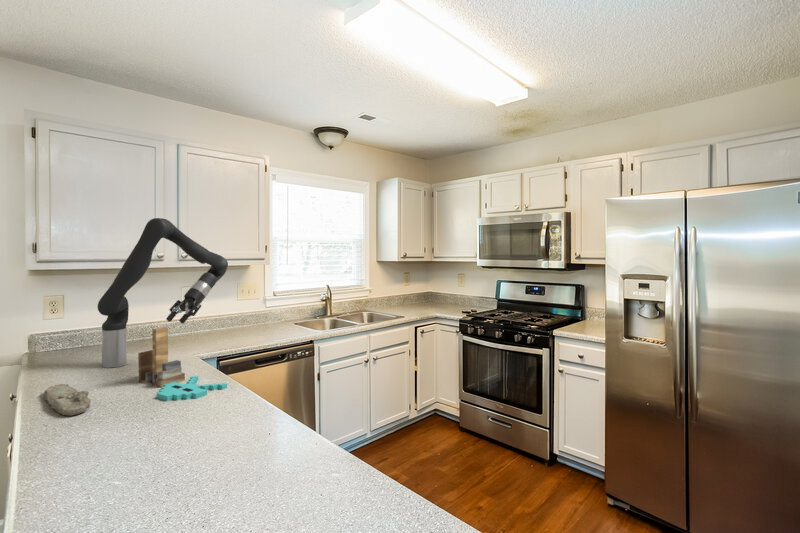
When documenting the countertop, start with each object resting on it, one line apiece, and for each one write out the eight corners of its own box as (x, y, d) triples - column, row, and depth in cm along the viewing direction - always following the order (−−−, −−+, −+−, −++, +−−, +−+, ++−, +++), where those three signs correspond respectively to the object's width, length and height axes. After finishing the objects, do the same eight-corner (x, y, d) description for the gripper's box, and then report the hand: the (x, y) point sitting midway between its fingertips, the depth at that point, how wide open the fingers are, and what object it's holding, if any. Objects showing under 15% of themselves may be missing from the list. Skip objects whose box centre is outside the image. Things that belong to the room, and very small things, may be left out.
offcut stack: (155, 385, 159) (155, 365, 158) (179, 378, 168) (179, 359, 168) (161, 387, 157) (161, 366, 157) (185, 380, 166) (185, 360, 166)
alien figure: (194, 380, 167) (146, 395, 149) (194, 375, 167) (146, 390, 149) (227, 388, 158) (179, 406, 140) (227, 383, 158) (178, 399, 140)
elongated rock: (72, 391, 156) (38, 400, 148) (70, 378, 156) (36, 386, 148) (98, 410, 134) (60, 421, 126) (96, 394, 134) (58, 405, 126)
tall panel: (152, 381, 164) (152, 329, 163) (164, 378, 168) (164, 327, 167) (156, 382, 163) (156, 329, 162) (168, 379, 167) (167, 327, 166)
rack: (138, 381, 164) (138, 353, 163) (162, 374, 173) (161, 347, 172) (153, 385, 160) (152, 355, 159) (176, 378, 169) (176, 350, 168)
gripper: (182, 286, 181) (157, 314, 171) (203, 288, 175) (179, 317, 165) (192, 296, 186) (169, 325, 176) (213, 298, 180) (191, 328, 170)
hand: (174, 321), depth 170 cm, fingers open, 8 cm apart
